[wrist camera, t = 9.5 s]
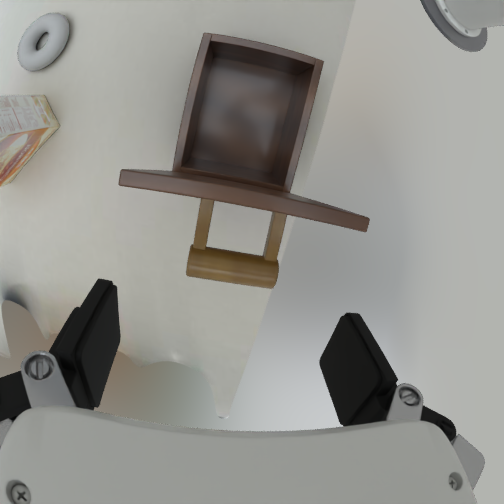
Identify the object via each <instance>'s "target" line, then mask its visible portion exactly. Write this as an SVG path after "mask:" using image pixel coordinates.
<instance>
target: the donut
mask: <svg viewBox="0 0 504 504" xmlns="http://www.w3.org/2000/svg"><path fill="white" fill-rule="evenodd" d="M69 31H70V30H69V22H68V20H67V19H66V17H65V16H64V15H62V14H59V13H48V14H46V15H43V16H41V17H39V18H38V19H37V20H35V21H34V22H33V23H32V24H31V25H30V26H29V27H28V28H27V29H26V31H25V33H24V34H23V36H22V38H21V40H20V43H19V46H18V52H17V55H18V61H19V63H20V65H21V66H22V67H23V68H25V69H26V70H30V71H36V70H39V69H42V68H44V67H46V66H47V65H49V64H50V63H52V62H53V61H54V60H55V59H56V58H57V57H58V56H59V54H60V53H61V51H62V50H63V49H64V47H65V45H66V42H67V40H68V36H69ZM45 32H48V33H49V37H48V40H47V42H46V44H45V45H44V46H43V48H42V49H40V50H39V51H37V50H36V44H37V42H38V40H39V38H40V37H41V36H42V35H43V34H44V33H45Z"/></svg>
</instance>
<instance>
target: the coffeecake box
mask: <svg viewBox="0 0 504 504" xmlns="http://www.w3.org/2000/svg"><path fill="white" fill-rule="evenodd" d="M59 127H60V125H59V123H58V121H57V119H56V117H55V116H54V114H53V112H52V110H51V108H50V106H49V104H48V102H47V100H46V98H45V96H44V95H5V96H0V187H2V186H4V185H6V184H8V183H11V181H12V180H13V179H14V178H15V176H16V175H17V174H18V173H19V171H20V170H21V169H22V168H23V167H24V165H25V164H26V163H27V162H28V161H29V159H30V158H31V157H32V156H33V155H34V154H35V152H36V151H37V150H38V149H39V148H40V147H41V146H42V145H43V144H44V143H45V141H46V140H47V139H48V138H49V137H50V136H51V135H52V134H53V133H54V132H55V131H56V130H57V129H58V128H59Z"/></svg>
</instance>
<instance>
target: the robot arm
mask: <svg viewBox="0 0 504 504" xmlns="http://www.w3.org/2000/svg"><path fill="white" fill-rule="evenodd" d="M435 2H436V4H437V6H438V8H439V10H440V12H441V13H442V15H443V16H444V18H445V19H446V20H447V21H448V23H449V24H450V25H451V26H452V27H453V28H454V29H455V30H456V31H458V32H459V33H460V34H462V35H464V36H466V37H476V36H478V35H479V34H480V32H481V29H482V28H485V27H494V26H504V0H435ZM119 343H120V325H119V313H118V297H117V286H115V285H113V282H112V281H109V280H104V279H98V280H97V281H96V283H95V284H94V286H93V288H92V289H91V291H90V292H89V294H88V295H87V297H86V299H85V300H84V302H83V303H82V305H81V307H76V308H74V310H73V311H72V313H71V314H70V316H69V318H68V319H67V321H66V323H65V324H64V326H63V328H62V329H61V331H60V333H59V334H58V336H57V338H56V340H55V341H54V343H53V345H52V347H51V349H50V350H49V352H46V351H34V352H32V353H30V354H28V355H27V356H26V357H25V358H24V359H23V361H22V363H21V371H18V372H16V373H13V374H10V375H7V376H4V377H1V378H0V504H477V501H476V498H475V495H474V493H473V489H474V487H475V485H476V483H477V481H478V479H479V477H480V475H481V472H482V470H483V468H484V464H485V460H484V457H483V455H482V454H481V453H480V452H479V451H478V450H477V449H476V448H475V447H473V446H472V445H471V444H470V443H468V441H466V440H465V439H464V438H463V437H462V436H461V435H460V434H458V435H457V436H456V429H455V426H454V424H453V422H452V421H451V420H449V419H448V418H446V417H444V416H442V415H440V414H438V413H437V412H435V411H433V410H431V409H429V408H427V407H425V406H423V396H422V394H421V392H420V391H419V390H418V389H417V388H416V387H414V386H412V385H410V384H406V383H403V384H400V385H398V386H397V385H396V382H397V381H398V379H397V377H396V375H395V373H394V371H393V370H392V368H391V366H390V364H389V363H388V361H387V359H386V357H385V356H384V354H383V352H382V351H381V349H380V347H379V345H378V344H377V342H376V340H375V339H374V337H373V335H372V334H371V332H370V330H369V329H368V327H367V325H366V324H365V322H364V321H363V319H362V317H361V316H360V314H358V313H346V314H345V315H344V316H342V317H341V318H340V320H339V322H338V324H337V326H336V328H335V330H334V332H333V334H332V336H331V338H330V340H329V342H328V344H327V346H326V348H325V350H324V352H323V354H322V356H321V358H320V367H321V370H322V373H323V376H324V379H325V382H326V384H327V387H328V390H329V393H330V396H331V398H332V402H333V404H334V407H335V410H336V413H337V416H338V419H339V422H340V424H341V425H343V426H344V427H336V428H327V429H317V430H316V429H315V430H301V431H267V432H265V431H264V432H263V431H261V432H260V431H259V432H258V431H257V432H256V431H227V430H212V429H199V428H189V427H181V426H174V425H166V424H160V423H154V422H148V421H142V420H136V419H131V418H126V417H121V416H117V415H112V414H108V413H103V412H98V411H93V410H94V407H99V405H100V401H101V398H102V394H103V391H104V388H105V385H106V382H107V379H108V376H109V373H110V370H111V367H112V364H113V361H114V357H115V355H116V352H117V349H118V346H119Z"/></svg>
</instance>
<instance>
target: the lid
mask: <svg viewBox="0 0 504 504" xmlns="http://www.w3.org/2000/svg"><path fill="white" fill-rule="evenodd" d="M119 185H120V186H125V187H132V188H139V189H146V190H153V191H159V192H166V193H172V194H178V195H185V196H191V197H196V198H201V203H200V208H199V214H198V220H197V226H196V231H195V238H194V244H192V245H191V246H190V251H189V256H188V262H187V270H186V275H187V276H190V277H196V278H202V279H208V280H215V281H221V282H228V283H234V284H241V285H248V286H255V287H262V288H269V289H272V288H273V287H274V286H275V284H276V281H277V278H278V272H279V264H278V260H277V256H278V252H279V247H280V243H281V239H282V235H283V230H284V226H285V222H286V217H287V215H291V216H296V217H301V218H305V219H310V220H314V221H319V222H324V223H328V224H332V225H337V226H341V227H345V228H350V229H354V230H358V231H363V232H366V231H367V228H368V225H369V221H370V219H369V218H368V217H365V216H362V215H359V214H355V213H353V212H349V211H346V210H343V209H340V208H337V207H334V206H331V205H328V204H324V203H321V202H318V201H314V200H311V199H308V198H304V197H301V196H298V195H294V194H291V193H286V192H282V191H277V190H273V189H268V188H263V187H259V186H254V185H249V184H244V183H239V182H234V181H228V180H223V179H217V178H212V177H206V176H200V175H194V174H188V173H182V172H176V171H163V170H137V169H122V170H121V172H120V178H119ZM214 201H219V202H225V203H230V204H236V205H241V206H246V207H252V208H257V209H262V210H267V211H272V217H271V221H270V226H269V230H268V235H267V239H266V244H265V248H264V252H263V256H259V255H253V254H247V253H241V252H235V251H229V250H224V249H218V248H212V247H206V244H207V238H208V233H209V227H210V222H211V216H212V211H213V205H214Z"/></svg>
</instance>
